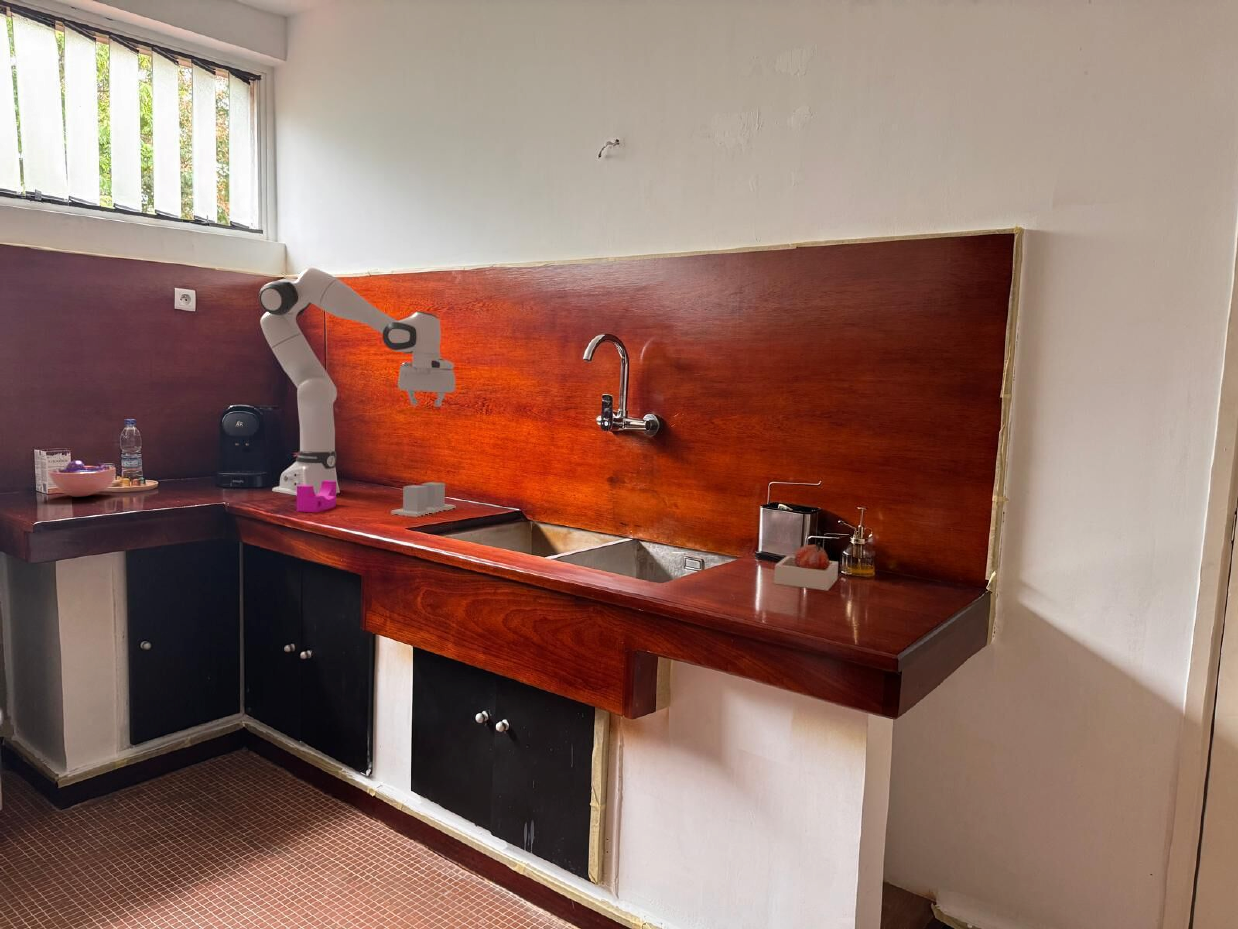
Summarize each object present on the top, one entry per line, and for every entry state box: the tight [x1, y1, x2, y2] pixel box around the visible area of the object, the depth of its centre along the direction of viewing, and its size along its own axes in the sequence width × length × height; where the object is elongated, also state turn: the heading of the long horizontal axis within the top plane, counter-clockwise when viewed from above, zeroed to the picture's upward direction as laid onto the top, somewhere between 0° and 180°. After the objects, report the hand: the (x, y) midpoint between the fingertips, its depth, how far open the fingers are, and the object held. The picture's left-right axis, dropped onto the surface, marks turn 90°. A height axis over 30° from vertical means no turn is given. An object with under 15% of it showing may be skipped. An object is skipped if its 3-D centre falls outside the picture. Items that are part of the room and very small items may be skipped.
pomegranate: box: [794, 542, 830, 570], centre depth 189 cm, size 7×7×10 cm
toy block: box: [296, 480, 337, 513], centre depth 264 cm, size 15×6×8 cm, turn 166°
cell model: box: [48, 460, 116, 498], centre depth 271 cm, size 17×20×11 cm
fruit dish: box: [773, 555, 839, 591], centre depth 191 cm, size 12×12×4 cm
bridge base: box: [390, 481, 457, 518], centre depth 264 cm, size 9×20×8 cm, turn 156°
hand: (426, 405), depth 283 cm, fingers open, 8 cm apart
